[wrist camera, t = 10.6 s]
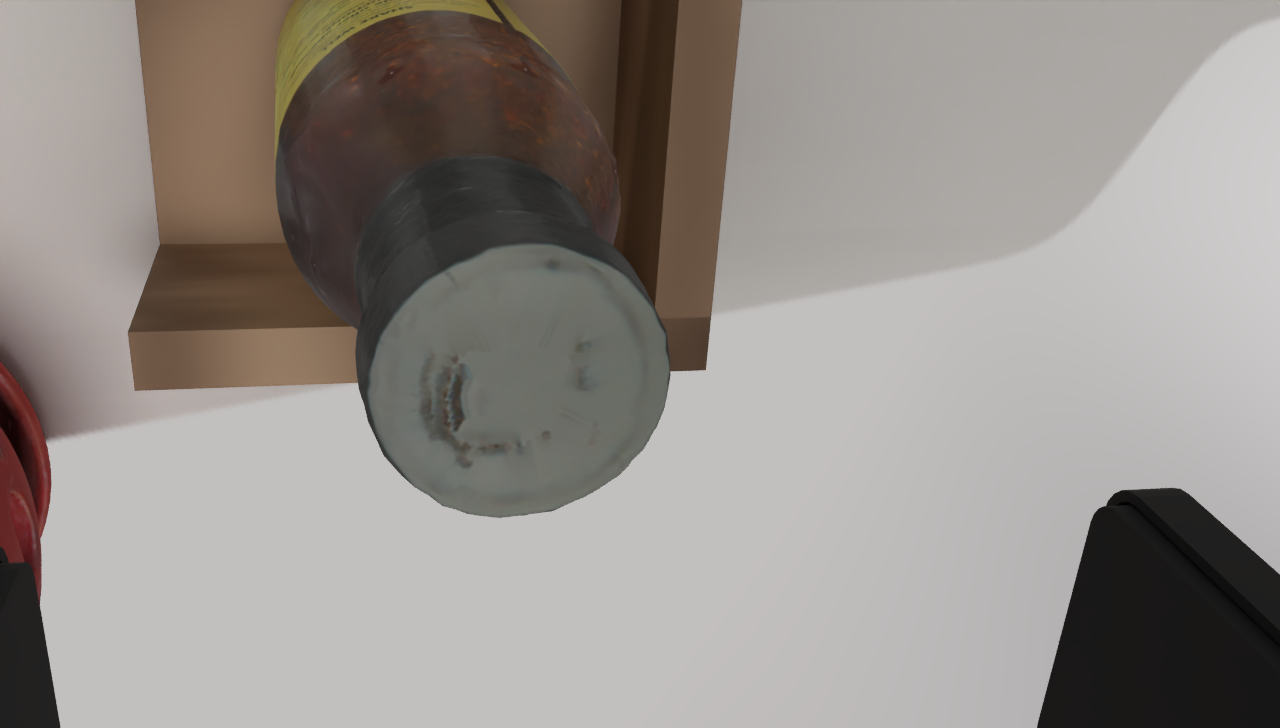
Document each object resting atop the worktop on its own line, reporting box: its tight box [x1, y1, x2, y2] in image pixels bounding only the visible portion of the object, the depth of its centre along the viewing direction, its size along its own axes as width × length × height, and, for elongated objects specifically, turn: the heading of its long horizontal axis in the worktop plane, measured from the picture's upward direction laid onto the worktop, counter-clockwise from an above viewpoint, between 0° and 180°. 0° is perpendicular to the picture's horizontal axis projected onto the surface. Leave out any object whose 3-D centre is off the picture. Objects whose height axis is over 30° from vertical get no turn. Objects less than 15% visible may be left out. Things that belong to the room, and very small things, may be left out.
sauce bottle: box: [275, 0, 670, 518], centre depth 24 cm, size 6×6×20 cm
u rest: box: [128, 0, 742, 391], centre depth 31 cm, size 14×14×7 cm
